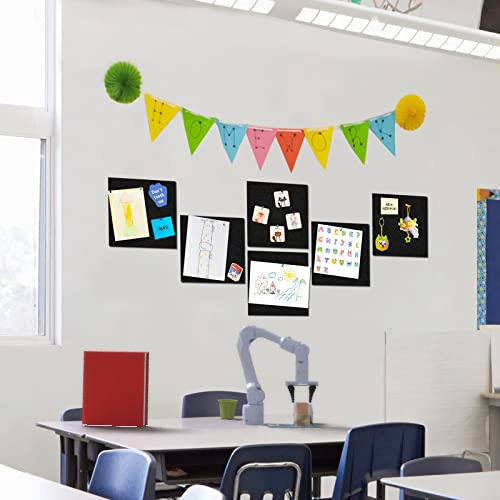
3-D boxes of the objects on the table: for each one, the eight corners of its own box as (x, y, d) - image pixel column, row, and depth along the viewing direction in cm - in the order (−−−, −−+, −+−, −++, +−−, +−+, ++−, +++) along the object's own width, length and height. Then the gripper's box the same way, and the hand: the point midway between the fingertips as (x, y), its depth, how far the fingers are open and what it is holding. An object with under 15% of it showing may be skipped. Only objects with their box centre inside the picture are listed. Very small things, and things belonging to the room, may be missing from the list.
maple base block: (296, 426, 441) (296, 414, 441) (293, 424, 447) (293, 413, 447) (309, 426, 442) (309, 414, 442) (307, 424, 447) (307, 413, 448)
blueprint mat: (270, 429, 432) (270, 427, 432) (263, 425, 448) (263, 423, 448) (324, 428, 436) (324, 427, 436) (316, 425, 452) (316, 423, 452)
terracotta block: (297, 414, 442) (297, 403, 442) (295, 413, 446) (295, 402, 447) (307, 414, 443) (307, 403, 443) (305, 413, 447) (305, 402, 447)
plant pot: (240, 418, 478) (241, 400, 478) (231, 420, 469) (232, 401, 470) (223, 417, 482) (223, 399, 482) (214, 419, 473) (214, 400, 474)
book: (147, 426, 437) (149, 351, 440) (143, 427, 429) (145, 352, 432) (86, 424, 441) (88, 350, 443) (80, 426, 433) (82, 351, 435)
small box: (313, 412, 459) (311, 403, 450) (312, 424, 456) (311, 415, 448) (296, 411, 461) (293, 403, 452) (295, 423, 458) (293, 414, 449)
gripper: (287, 371, 441) (287, 403, 440) (320, 372, 443) (319, 403, 442) (284, 371, 448) (284, 402, 447) (316, 371, 450) (316, 402, 449)
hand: (301, 402), depth 445 cm, fingers open, 7 cm apart
